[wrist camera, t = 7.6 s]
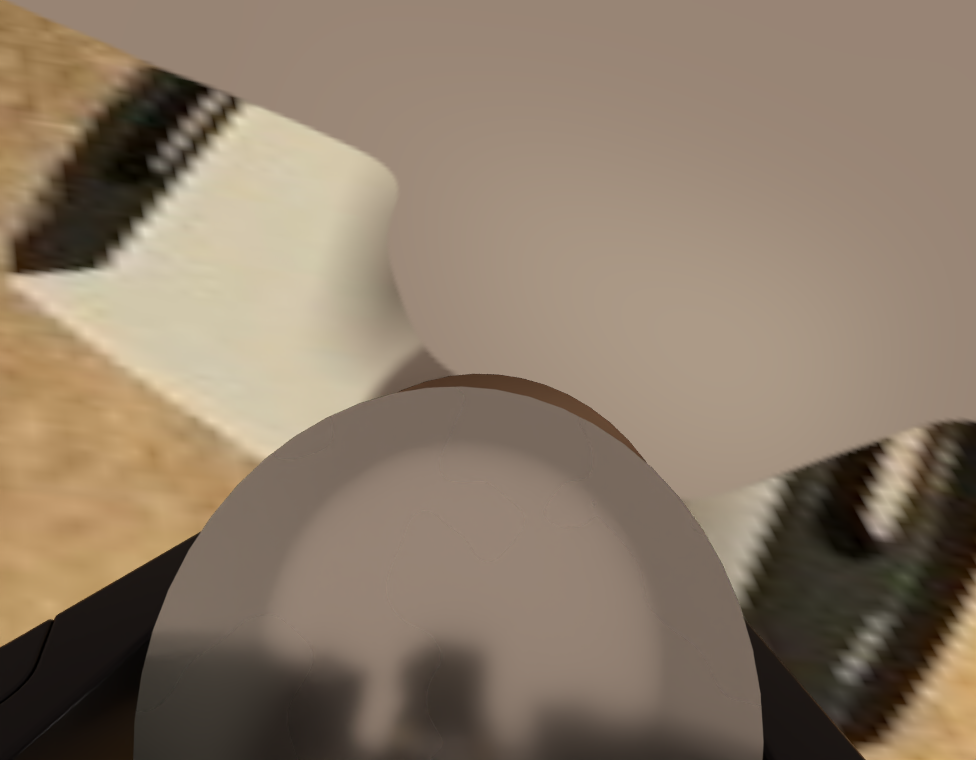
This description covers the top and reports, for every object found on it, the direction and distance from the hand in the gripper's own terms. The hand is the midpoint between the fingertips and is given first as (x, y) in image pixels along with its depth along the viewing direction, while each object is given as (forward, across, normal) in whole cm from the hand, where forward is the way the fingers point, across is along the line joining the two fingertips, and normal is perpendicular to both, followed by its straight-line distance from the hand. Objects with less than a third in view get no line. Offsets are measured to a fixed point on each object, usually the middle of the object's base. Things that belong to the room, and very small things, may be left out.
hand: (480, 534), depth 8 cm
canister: (+4, 0, +6) cm, 7 cm away
